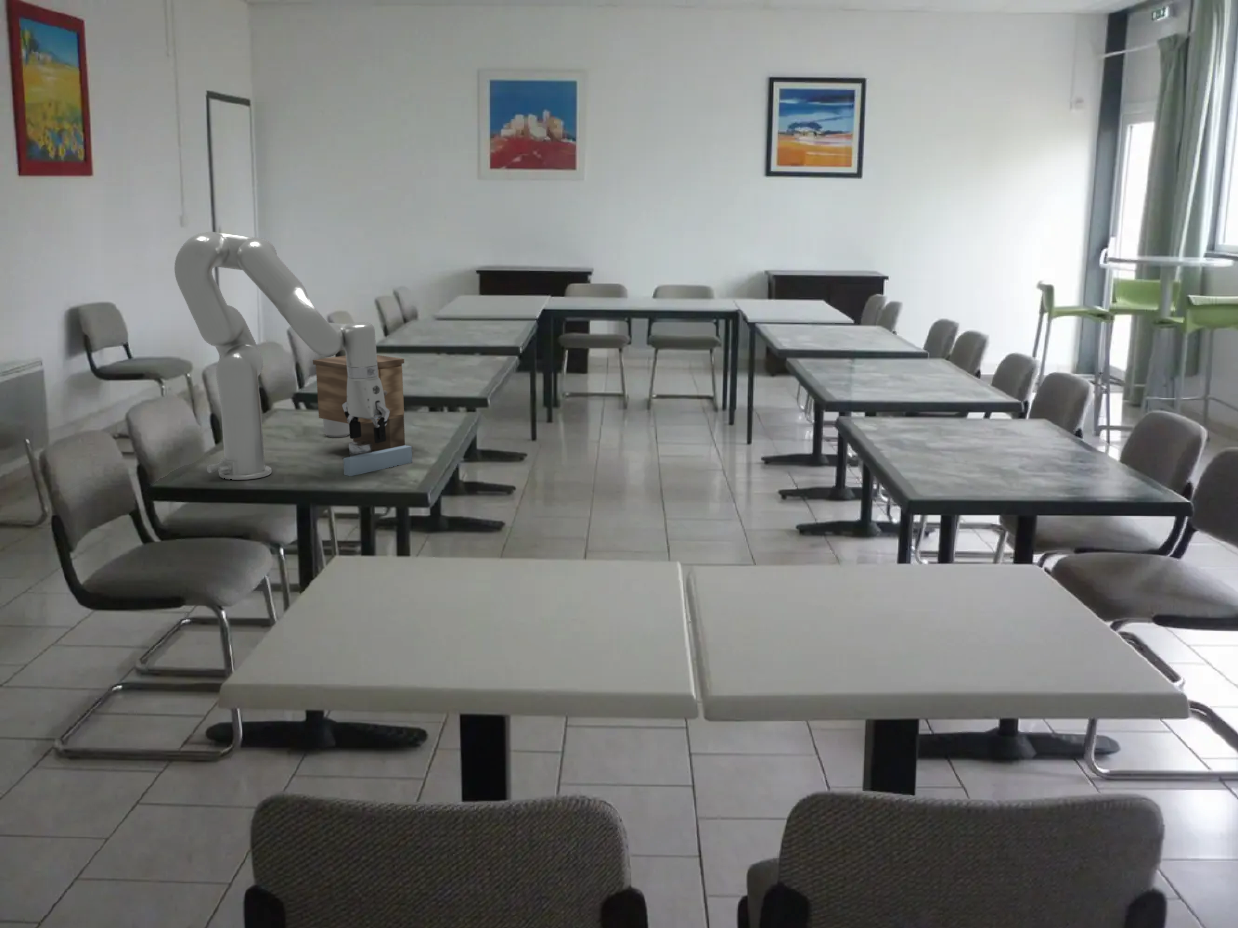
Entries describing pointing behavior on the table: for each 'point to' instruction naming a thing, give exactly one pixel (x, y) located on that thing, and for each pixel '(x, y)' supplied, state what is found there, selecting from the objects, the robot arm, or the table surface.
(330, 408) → the cabinet
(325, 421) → the can
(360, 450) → the puck
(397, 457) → the slat
